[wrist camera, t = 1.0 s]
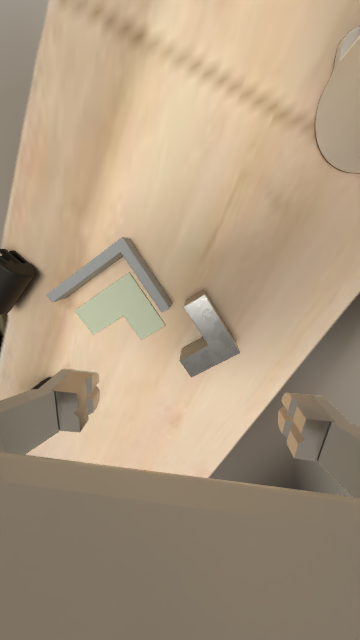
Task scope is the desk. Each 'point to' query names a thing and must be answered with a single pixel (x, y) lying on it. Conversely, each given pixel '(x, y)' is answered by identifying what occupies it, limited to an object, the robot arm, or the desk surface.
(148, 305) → the mat
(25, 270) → the end cap
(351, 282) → the desk surface
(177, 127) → the desk surface
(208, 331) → the bracket
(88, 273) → the corner walls
